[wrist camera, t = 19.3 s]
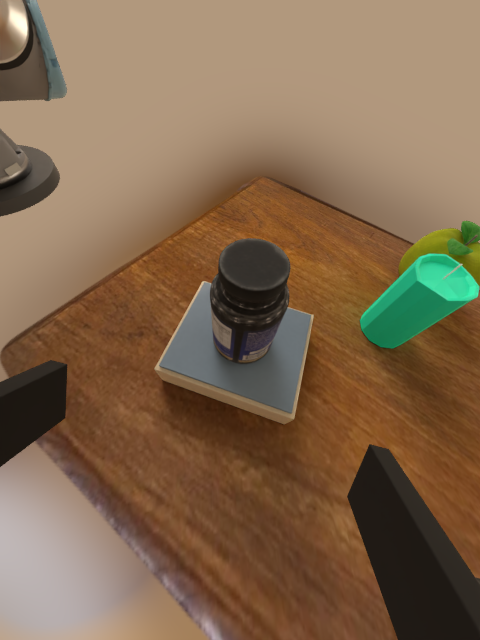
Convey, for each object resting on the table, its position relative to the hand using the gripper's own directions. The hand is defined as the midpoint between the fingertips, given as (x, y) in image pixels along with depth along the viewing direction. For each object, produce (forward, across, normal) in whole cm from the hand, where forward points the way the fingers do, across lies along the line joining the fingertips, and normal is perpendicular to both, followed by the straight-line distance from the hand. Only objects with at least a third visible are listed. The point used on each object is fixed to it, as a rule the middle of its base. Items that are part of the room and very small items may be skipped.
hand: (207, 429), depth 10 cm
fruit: (+30, +24, +8) cm, 39 cm away
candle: (+24, +18, +2) cm, 30 cm away
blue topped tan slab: (+18, 0, -3) cm, 18 cm away
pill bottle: (+15, 0, -1) cm, 15 cm away
